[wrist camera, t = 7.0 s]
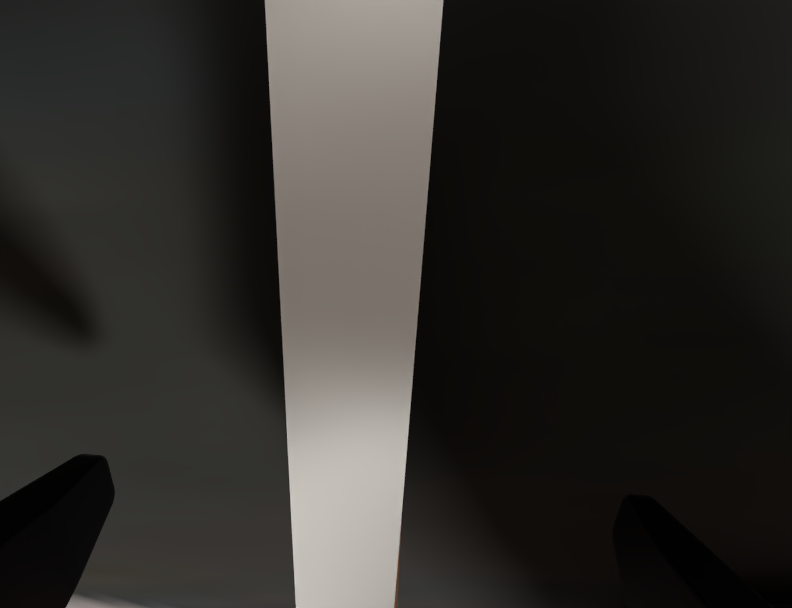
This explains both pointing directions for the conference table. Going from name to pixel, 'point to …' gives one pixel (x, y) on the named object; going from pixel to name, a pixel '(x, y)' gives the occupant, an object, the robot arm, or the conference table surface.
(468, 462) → the conference table surface
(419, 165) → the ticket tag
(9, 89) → the conference table surface
